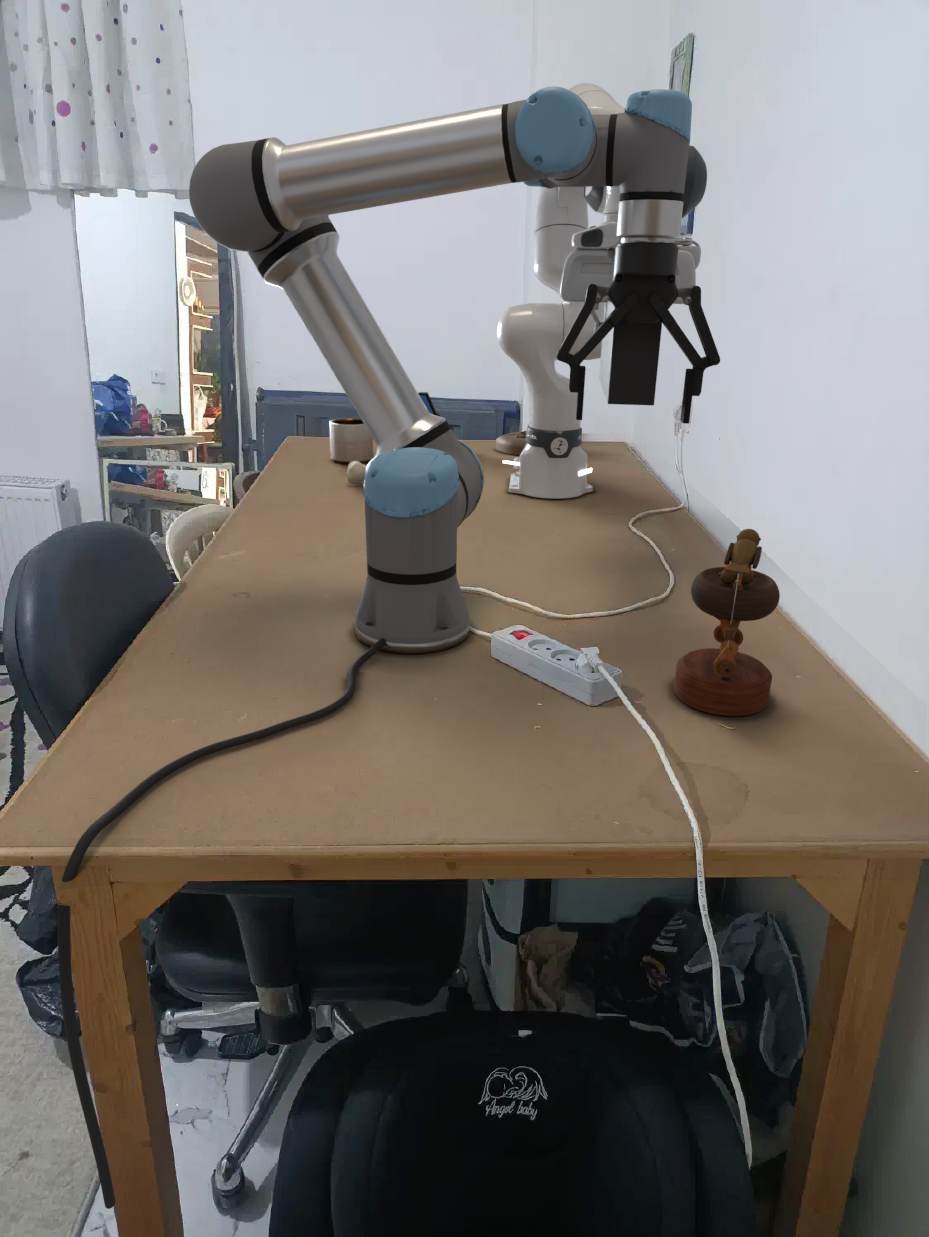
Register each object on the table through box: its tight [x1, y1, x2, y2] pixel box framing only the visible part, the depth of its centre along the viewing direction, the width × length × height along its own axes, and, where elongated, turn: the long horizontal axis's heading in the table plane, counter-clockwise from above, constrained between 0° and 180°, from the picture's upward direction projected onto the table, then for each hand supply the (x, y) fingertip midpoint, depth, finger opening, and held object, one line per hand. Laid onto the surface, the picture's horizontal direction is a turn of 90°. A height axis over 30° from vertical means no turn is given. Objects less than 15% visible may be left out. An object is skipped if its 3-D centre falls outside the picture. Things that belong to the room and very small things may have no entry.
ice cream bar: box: [495, 430, 527, 456], centre depth 223 cm, size 21×28×4 cm
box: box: [598, 299, 663, 406], centre depth 122 cm, size 28×6×12 cm, turn 174°
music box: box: [673, 528, 781, 717], centre depth 94 cm, size 15×11×20 cm
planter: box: [328, 417, 375, 464], centre depth 212 cm, size 11×11×10 cm
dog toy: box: [346, 461, 367, 485], centre depth 190 cm, size 20×6×5 cm, turn 99°
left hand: (631, 420), depth 110 cm, fingers open, 13 cm apart
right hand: (622, 334), depth 131 cm, fingers closed on box, 6 cm apart
